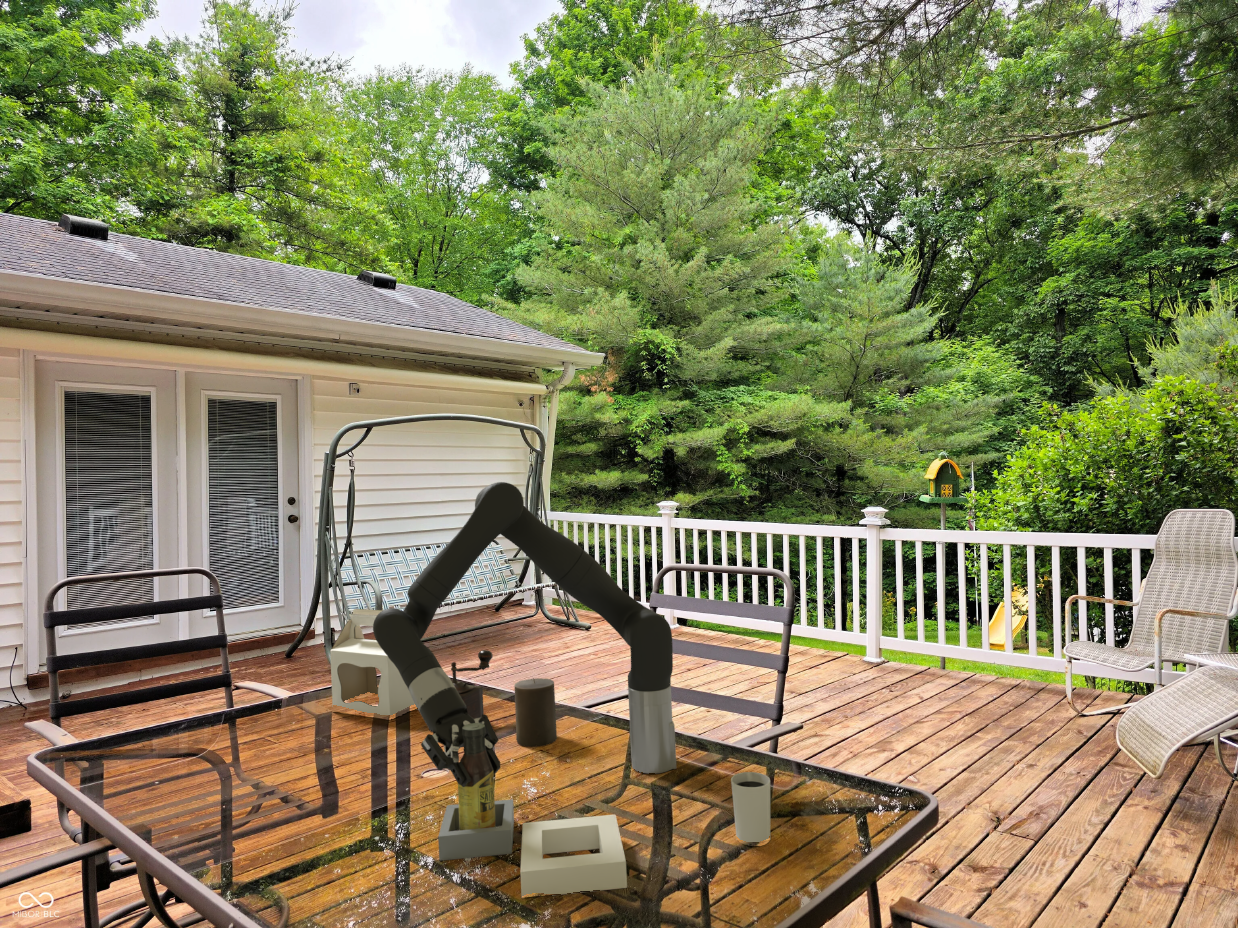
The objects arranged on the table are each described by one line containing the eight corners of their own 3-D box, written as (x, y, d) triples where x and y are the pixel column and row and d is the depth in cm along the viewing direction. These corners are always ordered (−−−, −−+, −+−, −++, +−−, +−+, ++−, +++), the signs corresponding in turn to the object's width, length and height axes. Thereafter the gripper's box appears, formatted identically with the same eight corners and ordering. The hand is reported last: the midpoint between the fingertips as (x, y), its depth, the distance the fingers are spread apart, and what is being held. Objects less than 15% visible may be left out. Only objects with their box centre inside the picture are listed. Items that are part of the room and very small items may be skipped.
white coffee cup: (749, 852, 123) (746, 791, 124) (725, 835, 129) (722, 777, 130) (781, 841, 127) (778, 781, 127) (756, 825, 132) (753, 768, 133)
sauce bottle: (488, 849, 128) (482, 733, 128) (454, 848, 129) (448, 733, 129) (501, 831, 135) (496, 720, 135) (469, 829, 136) (463, 719, 136)
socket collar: (616, 837, 131) (615, 814, 131) (627, 887, 115) (625, 861, 115) (523, 846, 129) (522, 822, 129) (521, 898, 113) (520, 871, 113)
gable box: (331, 712, 211) (327, 612, 211) (367, 698, 222) (363, 604, 223) (391, 720, 200) (386, 616, 201) (424, 706, 212) (420, 607, 213)
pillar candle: (540, 749, 174) (537, 685, 174) (508, 743, 179) (505, 680, 179) (565, 736, 182) (562, 674, 182) (533, 730, 187) (530, 670, 188)
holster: (514, 820, 139) (513, 799, 139) (511, 853, 127) (510, 829, 127) (448, 827, 137) (447, 805, 137) (439, 860, 125) (438, 836, 125)
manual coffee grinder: (462, 735, 186) (459, 663, 186) (427, 730, 191) (424, 660, 191) (498, 716, 200) (495, 648, 200) (465, 712, 205) (462, 646, 205)
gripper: (412, 696, 131) (459, 779, 124) (476, 677, 143) (522, 751, 135) (395, 722, 135) (440, 804, 127) (459, 700, 146) (503, 775, 138)
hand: (482, 776), depth 131 cm, fingers closed on sauce bottle, 6 cm apart
